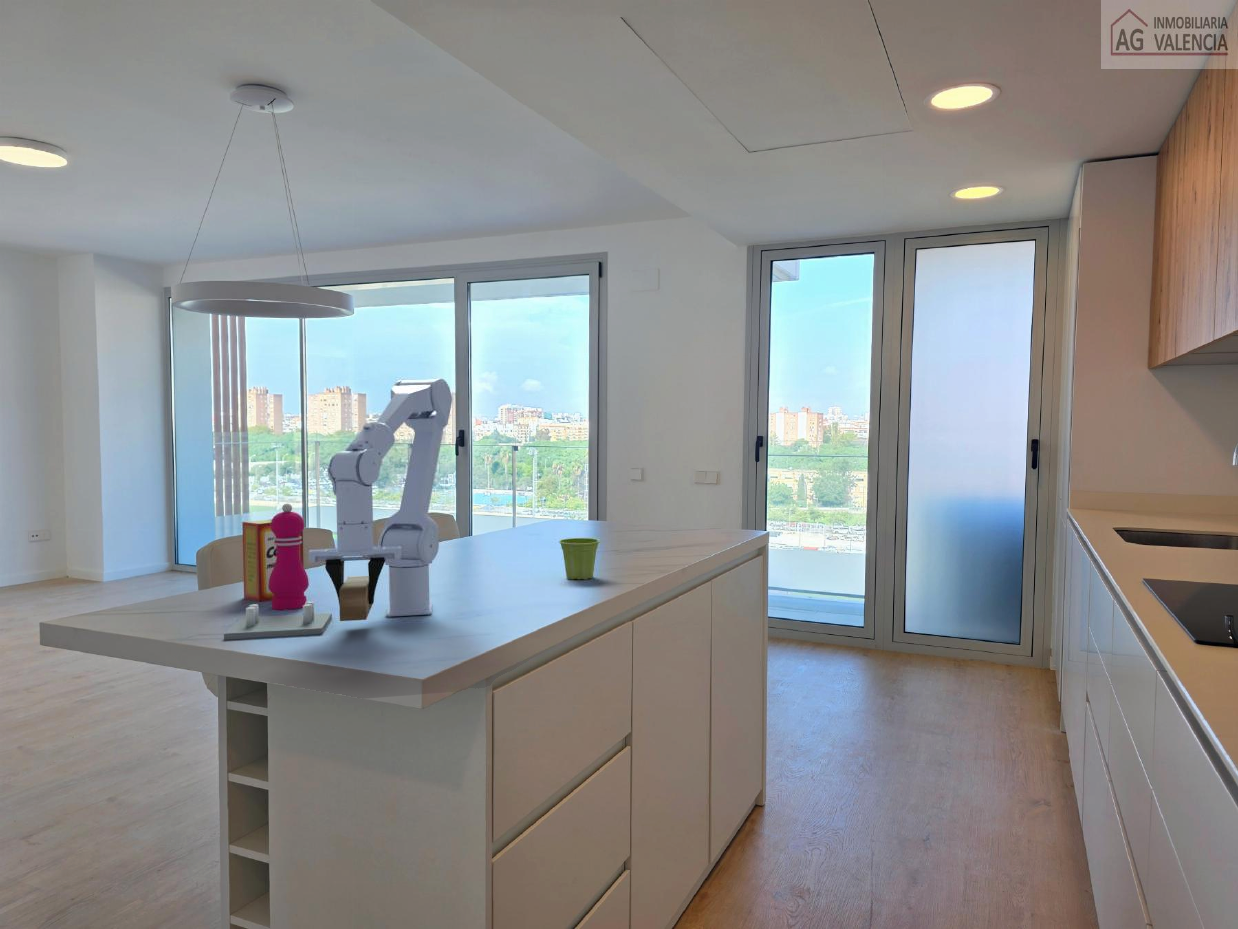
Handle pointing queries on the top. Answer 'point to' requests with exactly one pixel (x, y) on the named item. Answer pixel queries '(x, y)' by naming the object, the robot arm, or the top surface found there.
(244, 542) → the food box
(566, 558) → the plant pot
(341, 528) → the robot arm
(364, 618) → the walnut plank
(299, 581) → the pepper mill
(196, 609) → the top surface
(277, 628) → the peg stand
